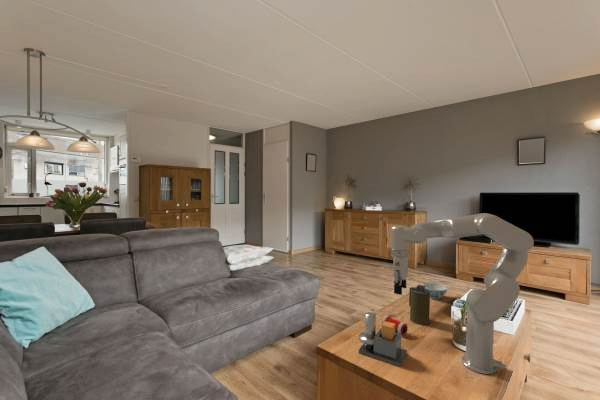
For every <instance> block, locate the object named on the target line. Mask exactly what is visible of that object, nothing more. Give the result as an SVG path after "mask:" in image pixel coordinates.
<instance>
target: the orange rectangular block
mask: <svg viewBox="0 0 600 400" xmlns="http://www.w3.org/2000/svg"><path fill="white" fill-rule="evenodd" d="M381 329H382V338H385V339H389V340H392V341H393V340H394V339H395V333H396V332H395V324H394V323H390V322H386V321H385V322H384V323H383V324H382V323H381Z"/></svg>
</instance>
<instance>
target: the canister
mask: <svg viewBox="0 0 600 400" xmlns="http://www.w3.org/2000/svg"><path fill="white" fill-rule="evenodd" d="M423 285H424V284H423ZM423 285H422V284H418V285H416V286H415V287H413V286H411V287H410V288H409V296H408V298H409V299H408V301H409V302H408V303H409V305H408V306H409V307H410V309H409V321H410V322H411V323H414V324H416V325H422V326H425V325H426V326H427V325H429V324H430V310H431V309H430V307H431V298H430V291H429V290H428V289H425V287H426V286H423Z"/></svg>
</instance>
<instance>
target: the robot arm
mask: <svg viewBox="0 0 600 400" xmlns="http://www.w3.org/2000/svg"><path fill="white" fill-rule="evenodd" d="M482 235H484V236H486V237H487V238H488V239H491V240H492V241H495V242H496V243H498V244H500V245H501V247H502V251H501V255H500V256H499V258H498V259H497V261H496V262H495V263H494V265H493V266H492V267H491V269H490V270H488V272H487V273H486V274H485V276H484V278H483V283H484V286H485V287H486V289H482V288H473V289H471V290H470V291H469V292H468V293H467V295H466V299H465V304H466V331H465V333H466V334H465V335H466V337H465V338H466V339H465V354H463V355H462V356H461V359H460V360H461V363H462V365H464V366H465V367H466V368H468V369H469V370H471V371H473V372H476V373H480V374H484V375H493V374H496V372H497V371H498V369H500V370H504V371H507V364H504V363H503V361H501V360H497V359H495V358H494V355H493V354H494V333H495V331H494V328H495V327H494V325H495V324H494V323H495V322H497V321H499V320H500V319H501V318H502V317H503V315H504V314H506V312H507V311H508V310H509V308H510V307H511V306H512V305H513V304H514V303H515V301H516V300H517V299H518V297H519V294H520V289H521V287H520V284H519V283H518V281H517V278H518V277H519V276H520V274H521V273H522V271H523V270H524V269H525V267H526V265H527V262H528V252H530V250H532V248H533V247H534V244H535V243H534V238H533V236H532V235H531V234H530V233H529V232H527V231H526V230H524V229H521V228H520V227H517V225H516V226H515V225H514V224H512V223H510V222H508V221H506V220H505V219H502V218H501V217H499V216H498V215H494V214H491V213H486V212H483V213H475V214H469V215H464V216H458V217H453V218H445V219H440V220H439V219H438V220H435V221H434V220H433V221H426V222H420V223H416V224H413V225H411V226H406V225H401V224H400V225H398V224H397V225H392V226H391V228H390V242H391V244H390V245H391V247H390V256H391V257H392V258H393V264H392V276H393V279H394V280H393V281H394V282H393V292H394V293H393V294H395V295H402V294H403V289H407V278H408V277H409V262H408V261H409V260H408V258H409V256H410V251H409V250H410V245H409V244H410V243H413V244H423V243H425V242H427V241H428V239H434V238H447V239H460V238H464V237H465V238H467V237H472V236H482Z"/></svg>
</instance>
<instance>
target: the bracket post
mask: <svg viewBox="0 0 600 400" xmlns="http://www.w3.org/2000/svg"><path fill="white" fill-rule="evenodd" d="M376 327H377V314H376V313H375V312H369V311H367V312H365V314H364V331H363V332H359V334H358V340H359V341H360V342H361V344H362V343H363V344H362V345H361V347H359V348H358V354H361V355H363V356H366V357H370V358H371V359H375V360H379V361H381V362H385V363H387V364H391V365H394V366H396V367H399V368H401V367H402V365H403V362H404V360H405V359H406V356H407V355H408V350H407V349H404V348H402V337H403V336H402V334H398V333H397V332H395V339H394V340H393V341H392V340H389V339H385V338H382V328H380V329H379V330H378V331H376V330H377V328H376Z"/></svg>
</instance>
